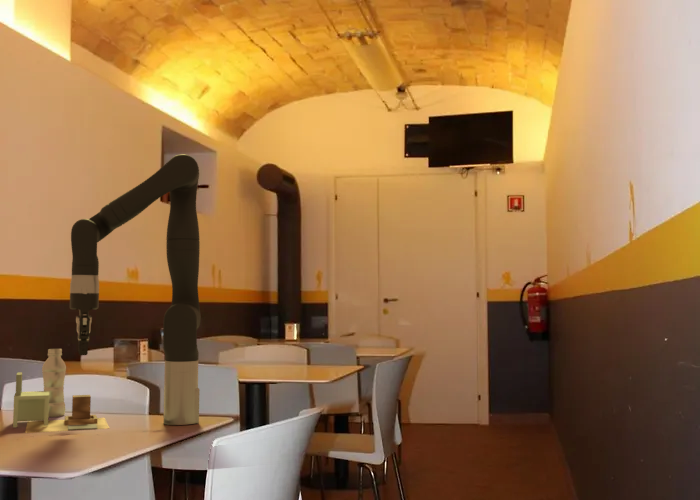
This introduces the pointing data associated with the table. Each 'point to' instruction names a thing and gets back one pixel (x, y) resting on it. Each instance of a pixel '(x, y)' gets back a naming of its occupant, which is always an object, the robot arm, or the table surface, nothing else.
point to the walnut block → (81, 407)
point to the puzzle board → (67, 425)
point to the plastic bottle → (54, 382)
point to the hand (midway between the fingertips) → (82, 354)
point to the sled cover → (30, 404)
